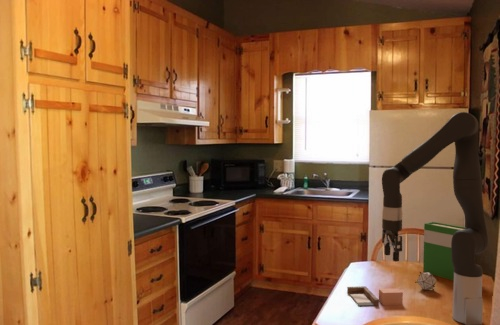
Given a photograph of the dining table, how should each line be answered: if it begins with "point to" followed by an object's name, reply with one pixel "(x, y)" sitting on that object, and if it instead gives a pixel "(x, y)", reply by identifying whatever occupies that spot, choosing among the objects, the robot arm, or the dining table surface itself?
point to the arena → (363, 296)
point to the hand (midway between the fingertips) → (391, 258)
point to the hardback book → (439, 249)
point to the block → (391, 296)
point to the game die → (426, 281)
